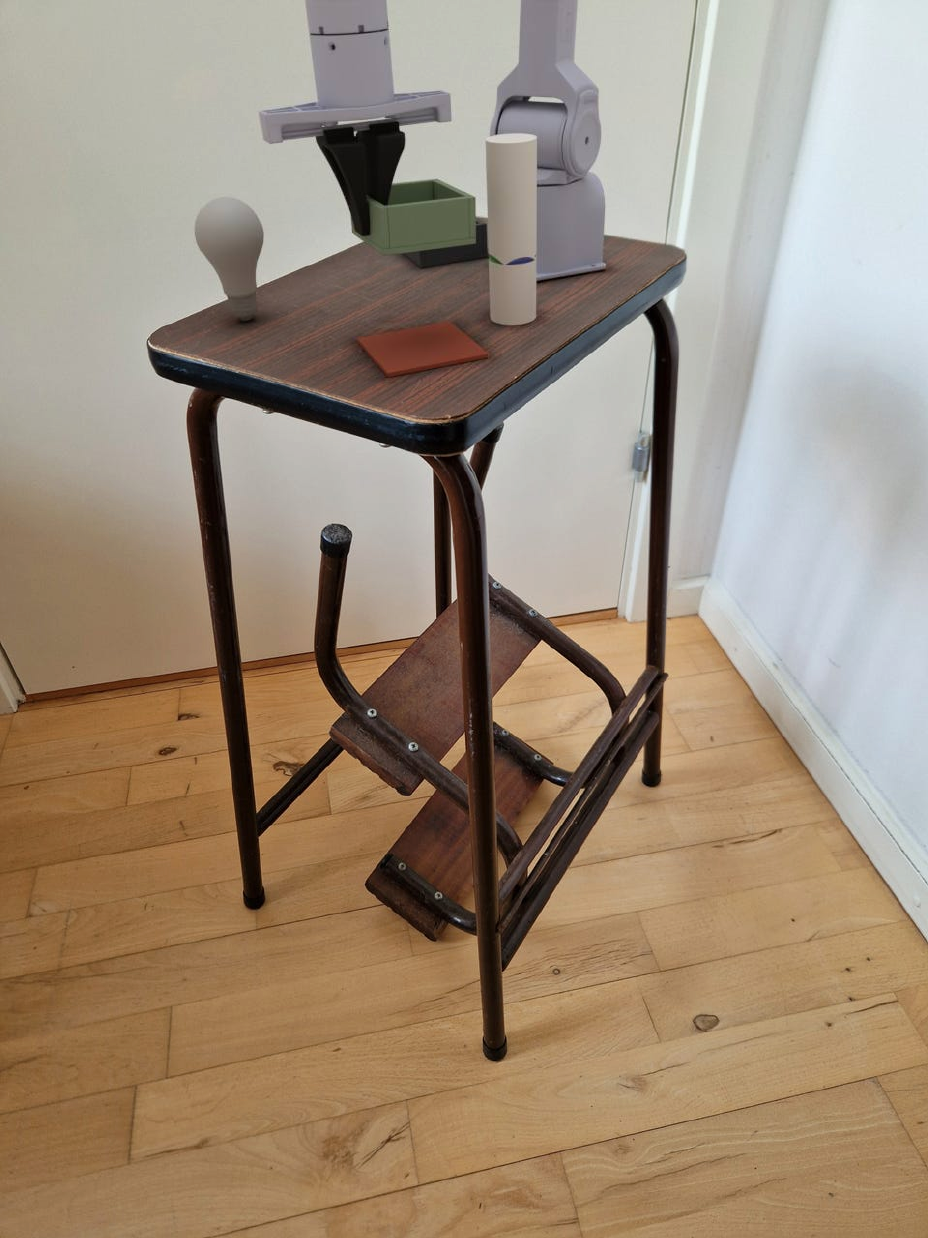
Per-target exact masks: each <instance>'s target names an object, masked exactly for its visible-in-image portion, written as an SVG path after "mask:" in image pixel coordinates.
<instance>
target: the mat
mask: <svg viewBox="0 0 928 1238" xmlns="http://www.w3.org/2000/svg"><path fill="white" fill-rule="evenodd" d="M356 340H357V344H359V346H360V347H361V348H362V349H363V351H364V352H365V353H366V354H367V355H368V356H369V357H370V358H371V359H372V361H373V362H374V363H375V364H376V365H377V367H379V369H380V370H381V371H382V372H383V374H384V375H385V376H386V377H387V378H394V377H397V376H403V375H408V374H412V373H417V372H422V371H427V370H433V369H438V368H443V367H448V366H452V365H458V364H463V363H467V362H472V361H477V360H482V359H487V358H489V357H488V356H489V353H488V352H487V351H486V350H484V349H483V348H482V346H480V345H479V344H478V343H477V342H475V341H474V340H473V339H472V338H471V337H469V335H467V334H466V333H465V332H464V331H462V330H461V329H460V328H459V327H458V326H457V325H455V324H454V323H453V322H452V321H450V320H447V321H442V322H436V323H431V324H425V325H421V326H415V327H410V328H404V329H399V330H398V329H397V330H393V331H388V332H383V333H377V334H371V335H366V336H361V337H357V338H356Z"/></svg>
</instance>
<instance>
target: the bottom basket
mask: <svg viewBox="0 0 928 1238" xmlns="http://www.w3.org/2000/svg"><path fill="white" fill-rule="evenodd" d="M401 255H403V256H405V257H406V258H407V259H409V260H410V261H411V262H412V263H414V264H415V265H416V266H418V267H419V268H420V269H422V268H423V269H424V268H429V267H435V266H436V267H437V266H441V265H446V264H447V265H449V264H453V263H459V262H465V261H471V260H477V259H483V258H488V256H489V248H488V223H486V222H484V221H483V220H481V219H479V218H477V217H476V243H475V244H469V245H461V246H454V247H446V248H439V249H431V250H424V251H416V252H409V253H401Z"/></svg>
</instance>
